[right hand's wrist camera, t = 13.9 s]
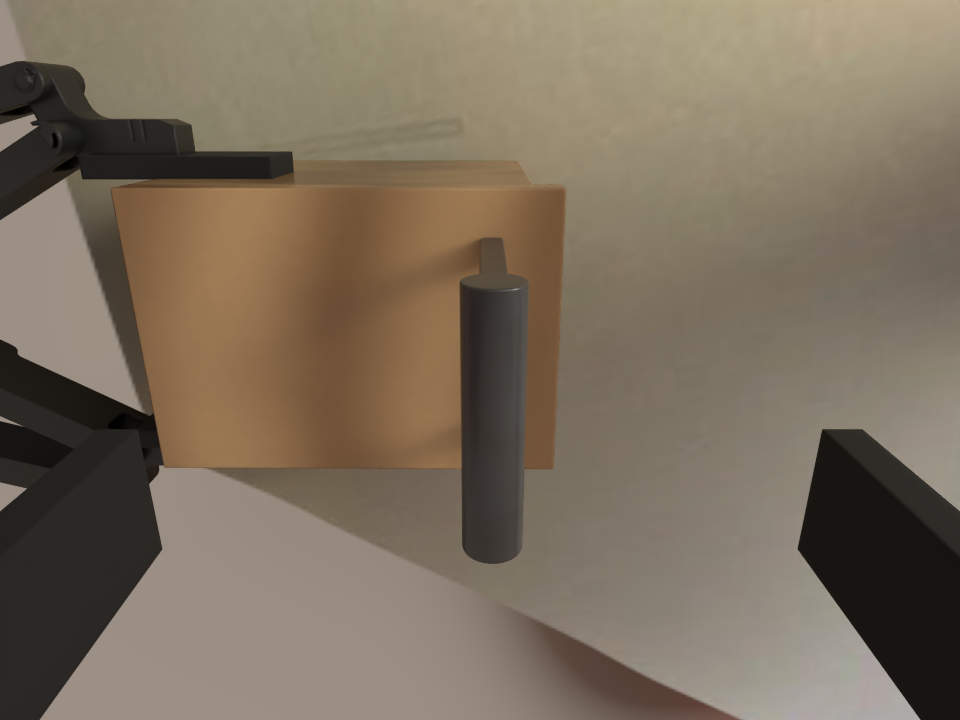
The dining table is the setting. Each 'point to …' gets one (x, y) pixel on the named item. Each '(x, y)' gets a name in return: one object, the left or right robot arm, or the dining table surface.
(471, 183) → the cabinet
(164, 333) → the wooden door with handle
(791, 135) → the dining table surface
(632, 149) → the dining table surface
